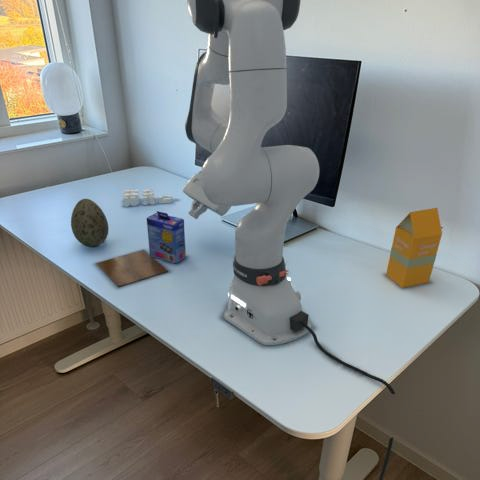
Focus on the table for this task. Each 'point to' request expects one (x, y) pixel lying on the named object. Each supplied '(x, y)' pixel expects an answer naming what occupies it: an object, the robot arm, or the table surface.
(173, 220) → the ink cartridge box
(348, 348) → the table surface
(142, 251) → the placemat
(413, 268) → the orange juice
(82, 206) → the decorative egg
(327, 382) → the table surface
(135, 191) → the modular blocks
